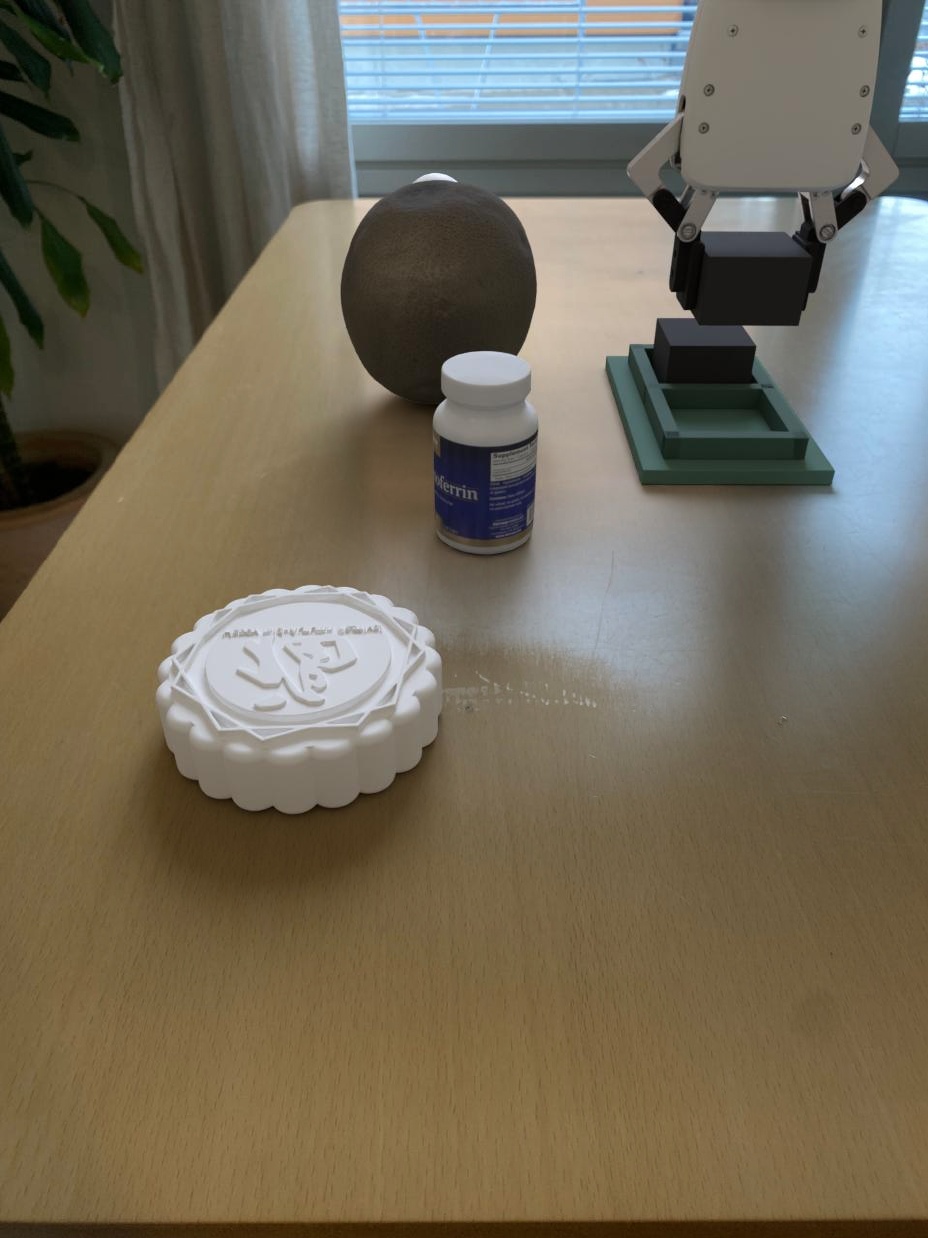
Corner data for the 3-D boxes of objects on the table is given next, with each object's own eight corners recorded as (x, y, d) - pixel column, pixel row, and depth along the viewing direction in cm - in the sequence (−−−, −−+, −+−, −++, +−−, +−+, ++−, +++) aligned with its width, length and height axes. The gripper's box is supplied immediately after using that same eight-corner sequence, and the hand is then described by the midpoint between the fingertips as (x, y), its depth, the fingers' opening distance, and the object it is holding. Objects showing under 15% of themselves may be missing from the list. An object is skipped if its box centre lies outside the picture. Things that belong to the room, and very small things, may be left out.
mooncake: (139, 824, 37) (119, 757, 35) (194, 638, 46) (181, 577, 44) (447, 812, 37) (446, 745, 35) (438, 631, 47) (437, 570, 45)
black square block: (728, 369, 73) (737, 317, 70) (746, 400, 68) (757, 345, 65) (650, 369, 73) (656, 317, 70) (663, 400, 68) (670, 345, 65)
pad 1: (772, 295, 61) (785, 231, 59) (799, 326, 57) (813, 257, 54) (680, 295, 61) (689, 230, 59) (698, 325, 57) (709, 256, 54)
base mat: (754, 367, 76) (760, 337, 74) (831, 484, 59) (841, 448, 58) (605, 367, 76) (607, 336, 74) (641, 484, 59) (645, 448, 58)
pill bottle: (415, 526, 55) (409, 361, 49) (492, 499, 58) (495, 339, 52) (474, 569, 51) (475, 396, 46) (553, 537, 54) (564, 370, 48)
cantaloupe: (305, 406, 69) (282, 186, 61) (432, 354, 78) (428, 155, 69) (451, 462, 62) (449, 220, 53) (573, 397, 71) (589, 181, 62)
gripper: (939, -51, 51) (857, 287, 62) (621, -52, 51) (593, 285, 62) (1002, -50, 45) (899, 324, 56) (642, -52, 45) (607, 322, 56)
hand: (739, 301), depth 59 cm, fingers closed on pad 1, 6 cm apart
